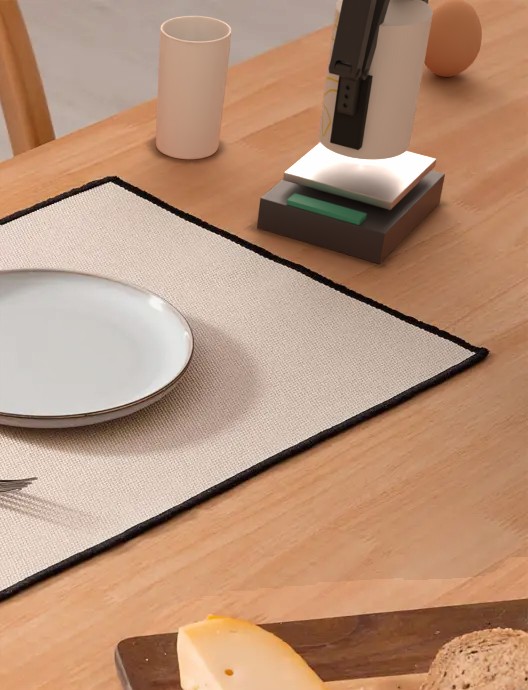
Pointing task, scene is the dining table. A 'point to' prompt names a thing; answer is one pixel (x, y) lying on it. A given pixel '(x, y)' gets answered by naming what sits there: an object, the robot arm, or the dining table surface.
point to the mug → (191, 85)
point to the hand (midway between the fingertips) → (366, 126)
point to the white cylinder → (386, 82)
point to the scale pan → (360, 175)
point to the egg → (453, 38)
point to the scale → (347, 217)
